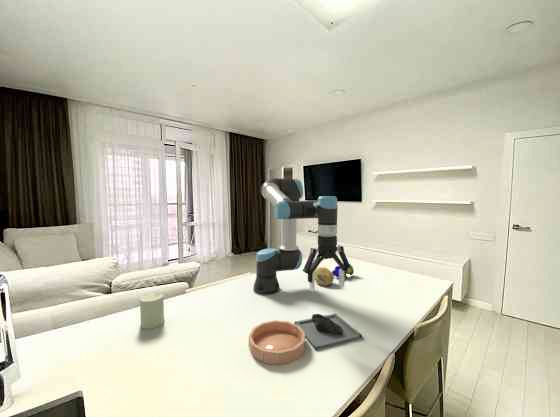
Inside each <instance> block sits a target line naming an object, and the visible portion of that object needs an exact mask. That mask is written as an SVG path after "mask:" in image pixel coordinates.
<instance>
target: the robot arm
mask: <svg viewBox="0 0 560 417" xmlns="http://www.w3.org/2000/svg"><path fill="white" fill-rule="evenodd" d="M260 193H261V195H262V197H263V198H264V199H265V200H267V201H269V203H271V205H272V206H273V207H274V208H273V213H274V216H275V219H277V220H281V244H280V246H279V248H278V250H277V249H276V248H263V249H260V250H259V251H257V252H256V256H255V257H256V258H255V264H256V266H255V269H256V270H255V271H256V272H255V273H256V274H255V276H256V277H255V281H254V283H253V286H252V288H253V292H254V293H255V294H258V295H264V296H265V295H267V296H268V295H273V294H277V293H278V292H280V283H279V281H278V278H277V272H286V271H294V270H295V271H296V270H298V269H300V267H301V266H302V264H303V253H302V251H301V249H299V246H298V245H297V220H298V219H299V220H300V219H302V220H303V219H317V234H318V235H317V248H314V247H310V253H309V255H308V258H307V260H306V262H305V264H304V268H303V269H302V271H303V273H305V274H307V282H308V283H309V290H310V291H312V292H315V282H316V281H315V275H314V274H313V273H314V271H315V270H316V269H317V268H319V266H320V264H321V263H322V262H323V261H324V260H328V259H332V260H334V261H335V263H336V264H337V266H340V268H341V269H339V277H338V286H341V287H342V288H343V287H345V278H347V277H346V271H347V270H348V268H350V265H351V263H350V262H349V261H348V258H347V256H346V253H345V250H344V246H343V245H338V236H337V234H338V207H339V206H338V198H337V197H336V196H334V195H333V196H329V195H327V196H323V195H322V196H319V197H318V198H317V200H301V199H302V198H303V196H304V187H303V184H302V182H301V180H300V179H298V178H292V177H291V178H287V177H286V178H278V177H273V178H269V179H268V180H266V181H265V182H264V183H262V185H261V188H260ZM337 252H338V254H337ZM338 255H339V256H338ZM339 257H340V258H339Z"/></svg>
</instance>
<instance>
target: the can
mask: <svg viewBox="0 0 560 417" xmlns="http://www.w3.org/2000/svg"><path fill="white" fill-rule="evenodd" d="M164 297H165V296H164V294H163V293H161V292H151V293H148V294H144V295H143V296H141V297H140V298H139V308H140V309H139V310H140V312H139V313H140V328H142V329H146V330H150V329H154V328H157V327H160V326H161V325H163V324H164V323H165V307H164V306H165V305H164V303H165V302H164Z"/></svg>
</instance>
